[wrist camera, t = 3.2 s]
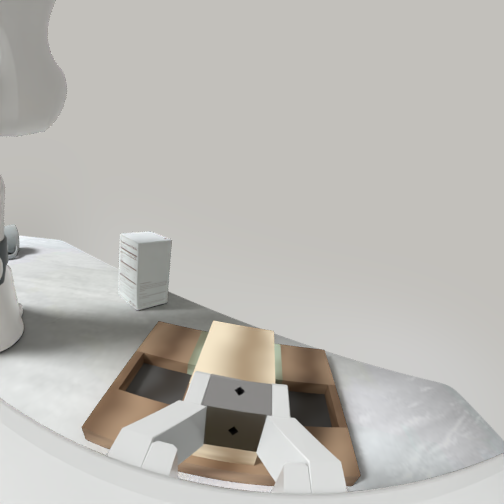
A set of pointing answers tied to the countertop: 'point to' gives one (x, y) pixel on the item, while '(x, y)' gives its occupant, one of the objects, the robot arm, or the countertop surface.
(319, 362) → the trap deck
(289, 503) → the robot arm
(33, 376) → the countertop surface
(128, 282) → the supplement box
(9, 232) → the ceramic mug
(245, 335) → the birch block
